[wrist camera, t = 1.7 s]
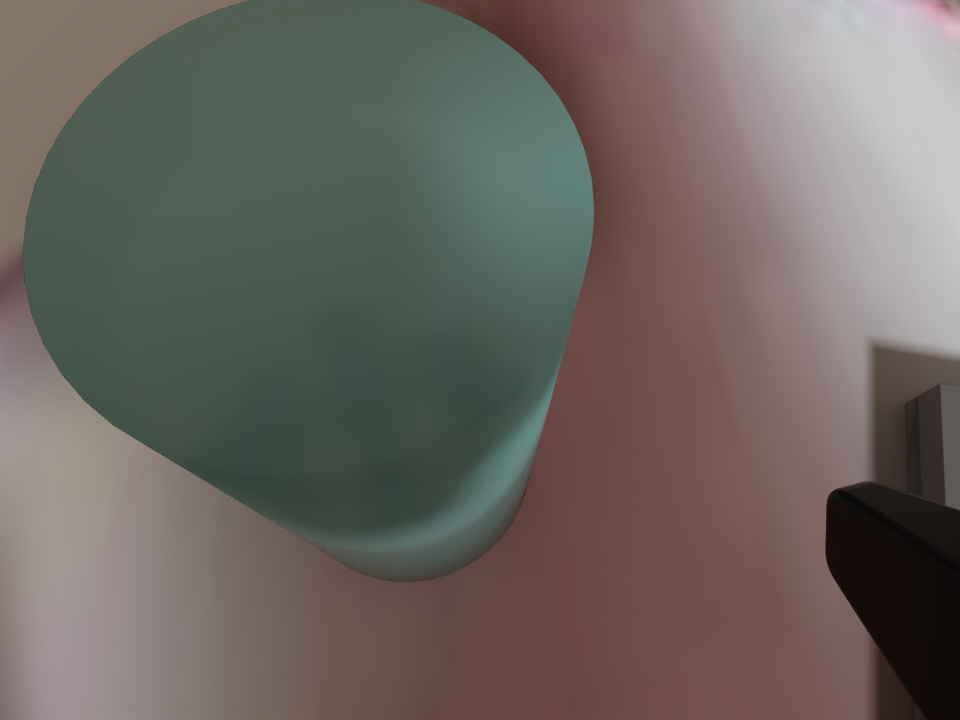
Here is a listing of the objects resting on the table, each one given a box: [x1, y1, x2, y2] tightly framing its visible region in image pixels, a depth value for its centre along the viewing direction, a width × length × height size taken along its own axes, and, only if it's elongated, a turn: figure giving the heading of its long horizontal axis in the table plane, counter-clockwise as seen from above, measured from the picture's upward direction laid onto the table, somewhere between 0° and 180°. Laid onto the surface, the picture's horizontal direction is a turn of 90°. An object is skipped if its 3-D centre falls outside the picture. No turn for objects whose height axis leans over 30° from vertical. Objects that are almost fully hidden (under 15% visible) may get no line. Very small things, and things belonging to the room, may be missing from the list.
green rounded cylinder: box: [23, 0, 594, 582], centre depth 14 cm, size 6×6×12 cm
